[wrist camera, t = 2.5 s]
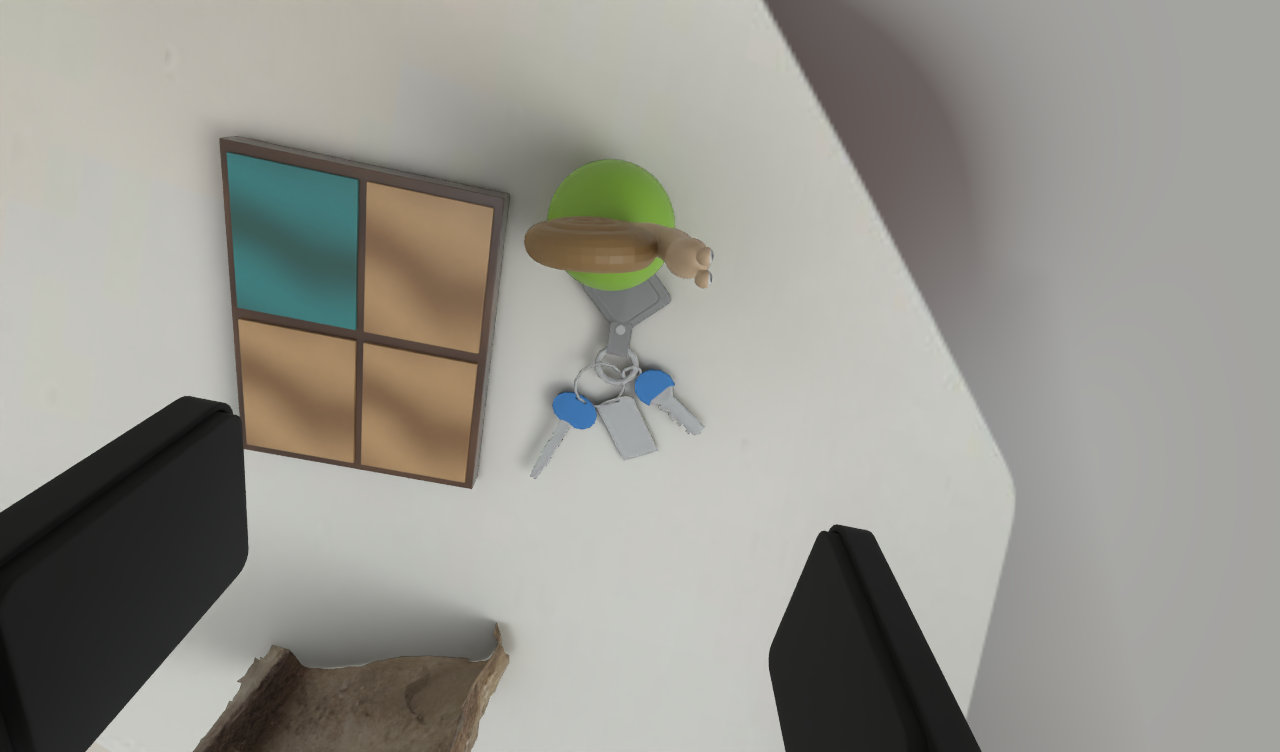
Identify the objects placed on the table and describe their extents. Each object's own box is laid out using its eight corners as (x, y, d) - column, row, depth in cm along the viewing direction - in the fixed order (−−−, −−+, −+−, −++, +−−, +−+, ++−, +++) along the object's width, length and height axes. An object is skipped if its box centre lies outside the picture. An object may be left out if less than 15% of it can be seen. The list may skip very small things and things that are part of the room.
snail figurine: (692, 279, 30) (709, 359, 19) (559, 275, 30) (497, 353, 19) (698, 160, 28) (721, 169, 17) (556, 156, 28) (485, 163, 17)
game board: (235, 135, 28) (215, 138, 27) (510, 194, 29) (503, 198, 28) (254, 437, 35) (239, 450, 33) (477, 477, 35) (471, 491, 34)
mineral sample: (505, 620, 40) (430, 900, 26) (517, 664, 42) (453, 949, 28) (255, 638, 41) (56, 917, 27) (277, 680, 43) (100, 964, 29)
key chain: (597, 234, 29) (595, 238, 29) (758, 285, 30) (761, 290, 30) (529, 471, 35) (526, 479, 34) (667, 508, 36) (667, 517, 35)
